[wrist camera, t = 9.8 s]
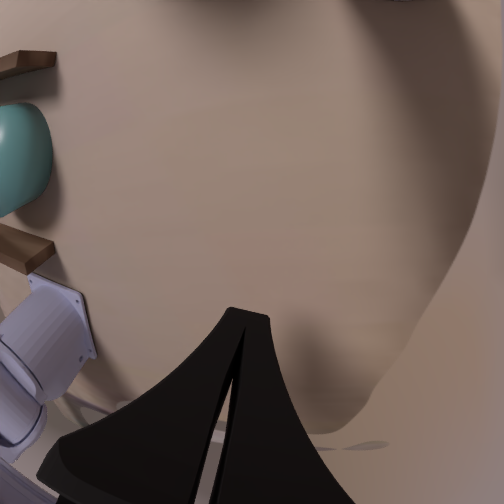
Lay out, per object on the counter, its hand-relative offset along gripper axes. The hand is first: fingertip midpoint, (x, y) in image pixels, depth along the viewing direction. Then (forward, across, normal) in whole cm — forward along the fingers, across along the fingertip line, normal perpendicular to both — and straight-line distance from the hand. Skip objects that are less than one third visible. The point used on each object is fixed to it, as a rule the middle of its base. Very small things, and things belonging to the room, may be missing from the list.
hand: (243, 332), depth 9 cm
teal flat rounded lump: (+10, +22, -2) cm, 24 cm away
